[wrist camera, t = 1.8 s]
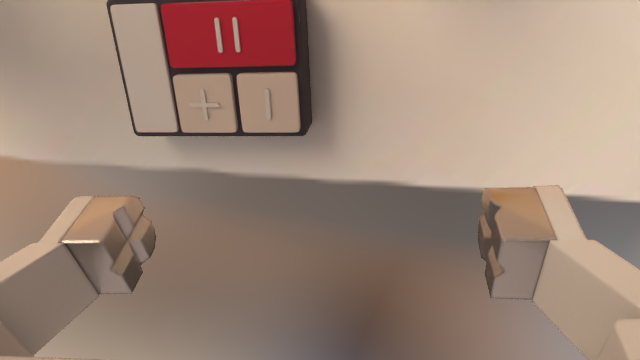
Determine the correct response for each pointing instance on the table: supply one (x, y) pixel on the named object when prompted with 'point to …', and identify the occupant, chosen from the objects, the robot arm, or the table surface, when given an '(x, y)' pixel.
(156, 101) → the calculator
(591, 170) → the table surface
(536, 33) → the table surface
